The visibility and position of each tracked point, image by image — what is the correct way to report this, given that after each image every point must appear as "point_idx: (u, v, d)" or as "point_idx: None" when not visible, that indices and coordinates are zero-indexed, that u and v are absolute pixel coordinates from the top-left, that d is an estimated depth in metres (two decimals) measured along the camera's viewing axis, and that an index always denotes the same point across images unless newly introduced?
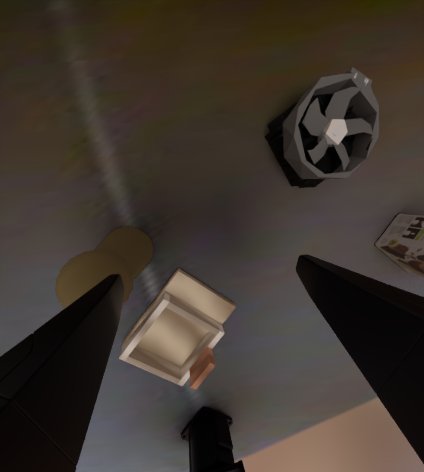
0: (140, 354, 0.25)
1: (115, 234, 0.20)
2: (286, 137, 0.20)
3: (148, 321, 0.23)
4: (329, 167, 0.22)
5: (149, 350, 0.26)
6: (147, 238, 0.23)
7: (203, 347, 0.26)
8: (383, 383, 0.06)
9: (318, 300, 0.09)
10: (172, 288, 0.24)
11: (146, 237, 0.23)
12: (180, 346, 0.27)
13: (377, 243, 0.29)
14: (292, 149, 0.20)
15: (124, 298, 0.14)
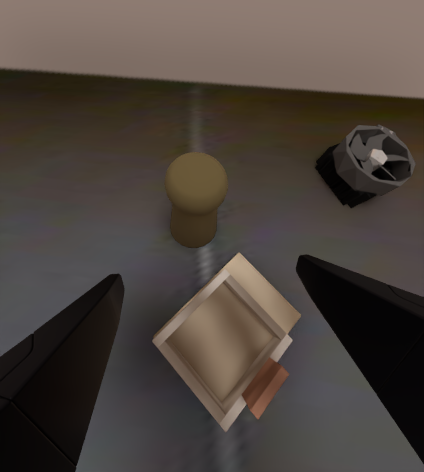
0: (176, 351, 0.18)
1: None
2: (338, 157, 0.26)
3: (202, 293, 0.19)
4: None
5: (185, 355, 0.19)
6: None
7: (262, 361, 0.18)
8: (383, 383, 0.06)
9: (318, 300, 0.09)
10: (230, 270, 0.22)
11: None
12: (226, 360, 0.19)
13: None
14: (345, 162, 0.25)
15: (222, 193, 0.14)
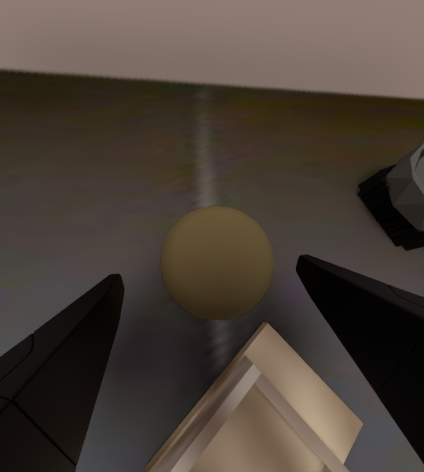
0: None
1: None
2: (395, 185, 0.19)
3: (220, 411, 0.12)
4: None
5: None
6: None
7: None
8: (383, 384, 0.06)
9: (318, 300, 0.09)
10: (256, 354, 0.15)
11: None
12: None
13: None
14: (410, 193, 0.18)
15: (267, 287, 0.08)
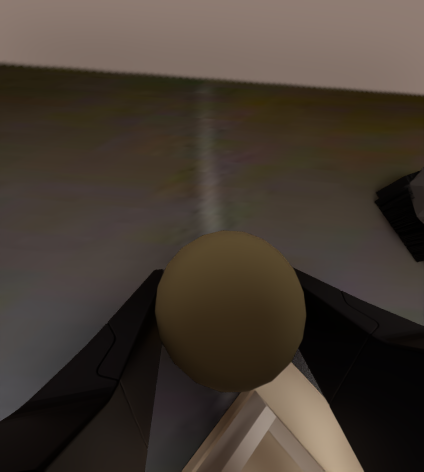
0: None
1: None
2: (421, 194, 0.17)
3: (229, 466, 0.10)
4: None
5: None
6: None
7: None
8: (334, 395, 0.06)
9: None
10: (268, 387, 0.13)
11: None
12: None
13: None
14: None
15: (298, 345, 0.06)
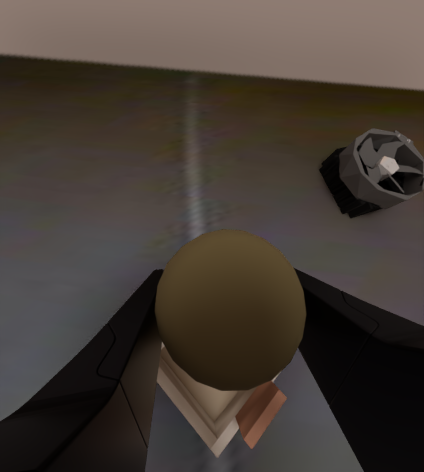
0: (165, 368, 0.17)
1: None
2: (343, 161, 0.24)
3: None
4: None
5: (176, 371, 0.17)
6: None
7: None
8: (334, 395, 0.06)
9: None
10: None
11: None
12: None
13: None
14: (350, 166, 0.23)
15: (298, 344, 0.06)
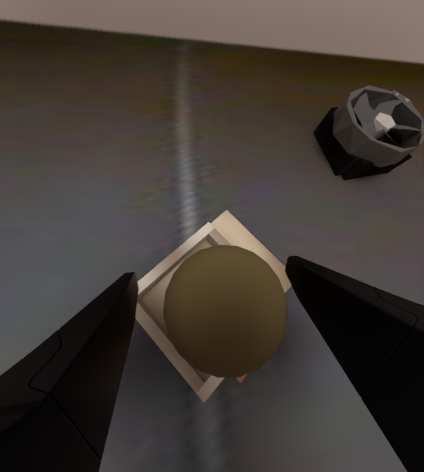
0: (149, 312, 0.15)
1: None
2: (337, 116, 0.23)
3: (181, 247, 0.16)
4: None
5: (161, 319, 0.16)
6: None
7: None
8: (367, 388, 0.06)
9: (306, 302, 0.09)
10: (215, 229, 0.19)
11: None
12: None
13: None
14: (343, 119, 0.22)
15: (281, 340, 0.07)
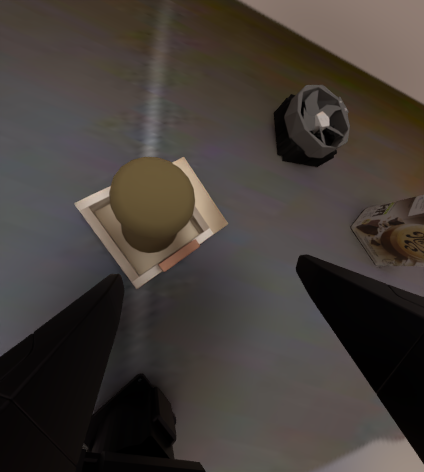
0: (100, 222, 0.18)
1: None
2: (291, 103, 0.27)
3: None
4: None
5: (110, 232, 0.19)
6: None
7: (183, 246, 0.20)
8: (383, 384, 0.06)
9: (318, 300, 0.09)
10: None
11: None
12: None
13: (352, 225, 0.33)
14: (293, 105, 0.26)
15: (184, 222, 0.12)
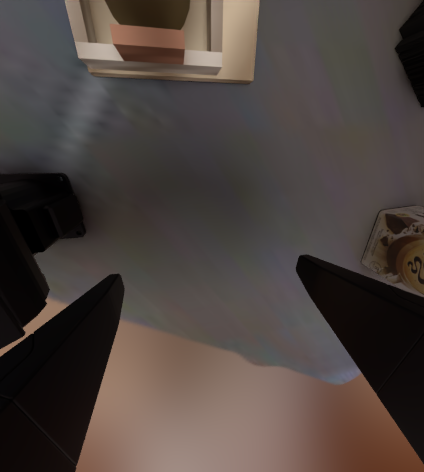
0: None
1: None
2: None
3: None
4: None
5: None
6: (188, 3, 0.13)
7: None
8: (383, 384, 0.06)
9: (318, 300, 0.09)
10: None
11: (188, 0, 0.13)
12: None
13: (384, 210, 0.26)
14: None
15: None
